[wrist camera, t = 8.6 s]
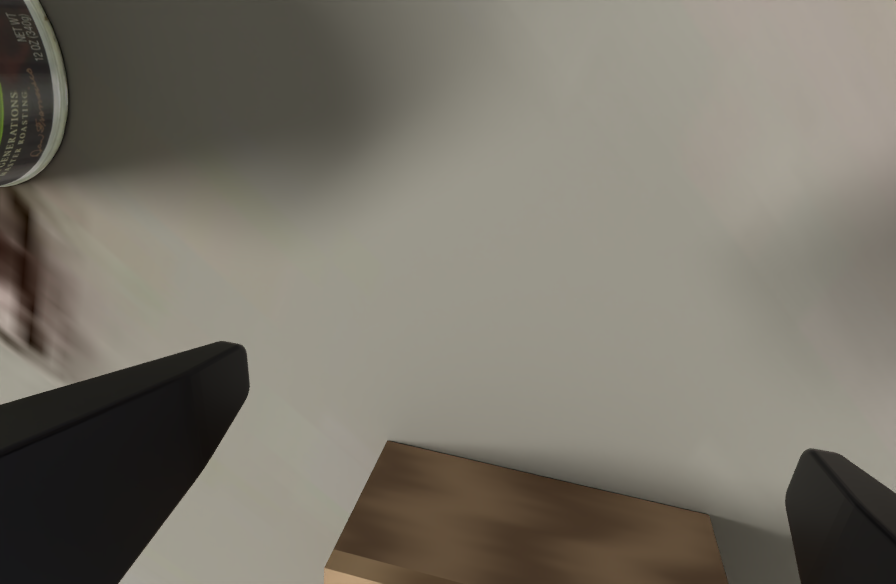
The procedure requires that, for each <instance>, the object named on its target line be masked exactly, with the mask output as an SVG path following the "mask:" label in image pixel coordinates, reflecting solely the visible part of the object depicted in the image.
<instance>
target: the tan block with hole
mask: <svg viewBox="0 0 896 584" xmlns="http://www.w3.org/2000/svg"><path fill="white" fill-rule="evenodd" d="M324 584H728V581H727V577H726V573H725V570H724V566H723V563H722V559H721V556H720V552H719V549H718V545H717V542H716V538H715V534H714V531H713V527H712V524H711V520H710V517H709V515H706V514H702V513H698V512H694V511H689V510H685V509H681V508H676V507H672V506H668V505H663V504H659V503H655V502H650V501H646V500H642V499H637V498H633V497H629V496H624V495H620V494H616V493H611V492H607V491H603V490H598V489H594V488H590V487H585V486H581V485H577V484H572V483H568V482H564V481H559V480H555V479H551V478H546V477H542V476H538V475H534V474H529V473H525V472H521V471H516V470H512V469H508V468H503V467H499V466H495V465H490V464H486V463H482V462H477V461H473V460H469V459H464V458H460V457H456V456H451V455H447V454H443V453H438V452H434V451H430V450H425V449H421V448H417V447H412V446H408V445H404V444H399V443H395V442H391V441H387V442H386V444H385V447H384V449H383V451H382V453H381V455H380V457H379V459H378V461H377V463H376V465H375V467H374V469H373V471H372V473H371V475H370V477H369V479H368V481H367V483H366V485H365V487H364V489H363V491H362V493H361V495H360V497H359V499H358V501H357V503H356V505H355V507H354V509H353V511H352V513H351V515H350V517H349V519H348V521H347V523H346V525H345V527H344V529H343V531H342V533H341V535H340V537H339V539H338V541H337V544H336V546H335V548H334V550H333V552H332V554H331V556H330V558H329V560H328V562H327V564H326V566H325V568H324Z"/></svg>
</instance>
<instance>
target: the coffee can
mask: <svg viewBox="0 0 896 584" xmlns="http://www.w3.org/2000/svg"><path fill="white" fill-rule="evenodd" d="M67 113H68V88H67V78H66V71H65V67H64V63H63V58H62V54H61V51H60V48H59V44H58V41H57V38H56V36H55V33H54V31H53V28H52V26H51V24H50V22H49V20H48V18H47V16H46V14H45V12H44V10H43V8H42V6H41V4H40V2H39V0H0V187H6V186H12V185H17V184H19V183H22V182H25V181H27V180H29V179H31V178H32V177H34V176H36V175H37V174H38V173H39V172H41V171H42V170H43V169H44V168H45V167H46V166H47V165H48V164H49V162H50V161H51V160H52V159H53V157H54V155H55V154H56V152H57V150H58V148H59V146H60V144H61V141H62V139H63V136H64V130H65V124H66V120H67Z"/></svg>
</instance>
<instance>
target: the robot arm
mask: <svg viewBox="0 0 896 584" xmlns="http://www.w3.org/2000/svg"><path fill="white" fill-rule="evenodd" d="M249 387H250V383H249V372H248V362H247V353H246V350H245V348H244V347H243V346H242V345H241V344H236V343H231V342H225V341H219V342H215V343H212V344H208V345H205V346H201V347H198V348H194V349H191V350H188V351H184V352H181V353H177V354H174V355H170V356H167V357H163V358H160V359H157V360H153V361H150V362H146V363H143V364H139V365H136V366H132V367H129V368H126V369H122V370H119V371H115V372H112V373H108V374H105V375H101V376H98V377H95V378H91V379H88V380H84V381H81V382H77V383H74V384H71V385H67V386H64V387H60V388H57V389H53V390H50V391H46V392H43V393H40V394H36V395H33V396H29V397H26V398H22V399H19V400H15V401H12V402H9V403H5V404H2V405H0V584H118V583H119V582H120V580H121V579H122V578H123V576H124V575H125V574H126V572H127V571H128V570H129V568H130V567H131V566H132V564H133V563H134V562H135V560H136V559H137V558H138V556H139V555H140V554H141V552H142V551H143V550H144V548H145V547H146V546H147V544H148V543H149V542H150V540H151V539H152V538H153V537H154V535H155V534H156V533H157V531H158V530H159V529H160V527H161V526H162V525H163V523H164V522H165V521H166V519H167V518H168V517H169V515H170V514H171V513H172V511H173V510H174V509H175V507H176V506H177V505H178V503H179V502H180V501H181V499H182V498H183V497H184V495H185V494H186V493H187V491H188V490H189V489H190V487H191V486H192V485H193V483H194V482H195V480H196V479H197V478H198V476H199V475H200V473H201V472H202V471H203V469H204V468H205V466H206V465H207V463H208V462H209V460H210V458H211V457H212V455H213V454H214V452H215V450H216V449H217V447H218V445H219V444H220V442H221V440H222V439H223V437H224V435H225V434H226V432H227V430H228V429H229V427H230V425H231V424H232V422H233V420H234V419H235V417H236V415H237V414H238V412H239V410H240V409H241V407H242V405H243V404H244V402H245V400H246V398H247V396H248V393H249ZM785 504H786V511H787V516H788V521H789V526H790V531H791V536H792V541H793V546H794V551H795V556H796V561H797V566H798V571H799V576H800V581H801V584H896V493H894V492H893V491H892V490H890V489H889V488H887V487H886V486H885V485H883V484H882V483H880V482H879V481H877V480H876V479H875V478H873V477H872V476H870V475H869V474H867V473H866V472H865V471H863V470H862V469H860V468H859V467H858V466H856V465H855V464H853V463H852V462H850V461H849V460H848V459H846V458H845V457H843V456H842V455H840V454H838V453H835V452H829V451H824V450H818V449H811V448H810V449H807V450H805V451H804V452H803V453H802V455H801V457H800V459H799V462H798V464H797V467H796V469H795V471H794V474H793V476H792V479H791V481H790V484H789V486H788V489H787V492H786V499H785Z"/></svg>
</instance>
